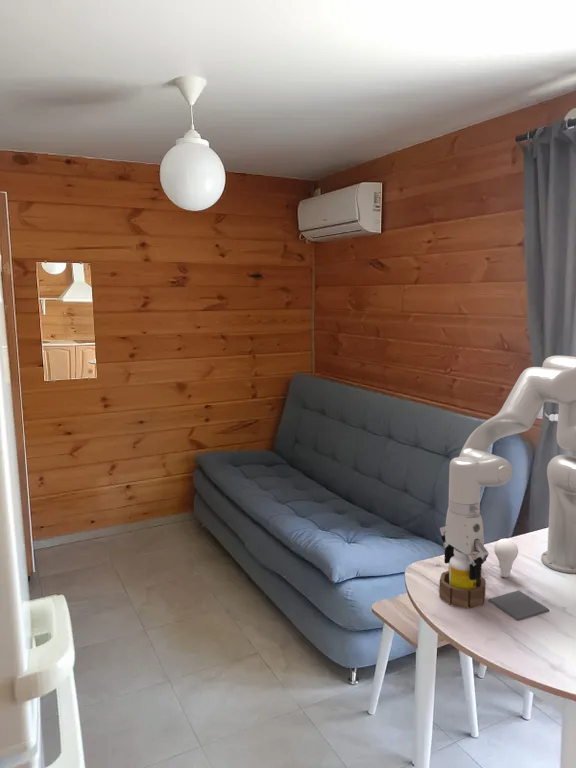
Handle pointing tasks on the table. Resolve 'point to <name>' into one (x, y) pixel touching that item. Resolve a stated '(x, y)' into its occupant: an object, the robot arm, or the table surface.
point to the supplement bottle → (460, 571)
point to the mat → (518, 605)
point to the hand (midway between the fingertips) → (462, 570)
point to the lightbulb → (506, 555)
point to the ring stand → (462, 593)
